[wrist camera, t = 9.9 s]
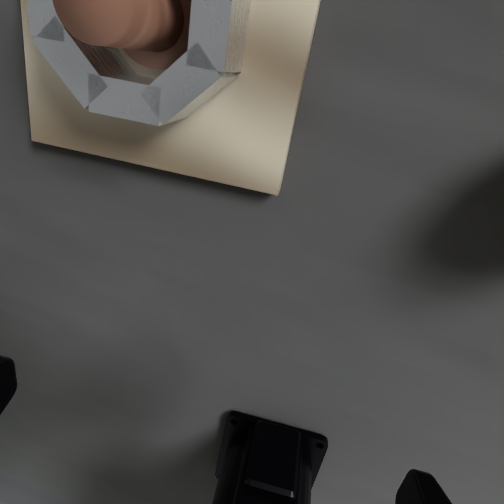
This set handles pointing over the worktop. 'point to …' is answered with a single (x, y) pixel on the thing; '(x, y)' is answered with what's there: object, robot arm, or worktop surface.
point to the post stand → (205, 118)
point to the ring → (140, 87)
